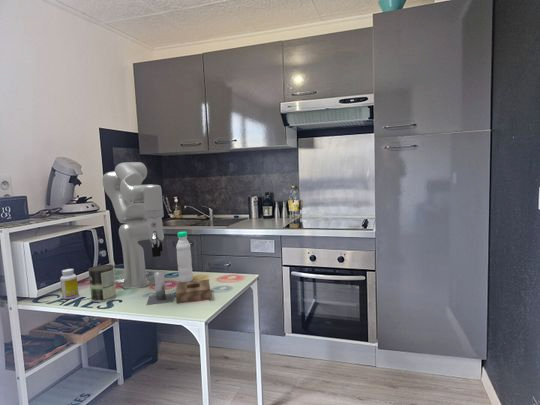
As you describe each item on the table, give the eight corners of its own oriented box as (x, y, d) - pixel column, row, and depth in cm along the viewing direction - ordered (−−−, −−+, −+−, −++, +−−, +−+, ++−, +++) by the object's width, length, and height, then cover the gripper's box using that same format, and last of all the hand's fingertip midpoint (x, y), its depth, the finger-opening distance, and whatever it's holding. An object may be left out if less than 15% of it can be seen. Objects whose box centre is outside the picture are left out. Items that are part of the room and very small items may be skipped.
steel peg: (155, 301, 150) (153, 273, 148) (156, 298, 153) (154, 271, 152) (165, 300, 150) (163, 272, 149) (166, 296, 154) (163, 270, 153)
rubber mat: (146, 306, 145) (146, 305, 145) (149, 297, 156) (149, 296, 156) (173, 303, 148) (173, 301, 148) (174, 294, 158) (174, 293, 158)
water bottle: (186, 277, 183) (183, 230, 181) (196, 279, 179) (192, 231, 177) (175, 281, 178) (171, 232, 175) (185, 283, 173) (181, 233, 171)
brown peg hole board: (177, 304, 146) (176, 293, 145) (178, 293, 159) (177, 282, 159) (211, 300, 148) (210, 288, 148) (209, 289, 162) (208, 279, 162)
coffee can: (90, 303, 152) (87, 272, 151) (92, 296, 162) (89, 266, 161) (116, 299, 156) (113, 268, 155) (116, 292, 166) (113, 263, 165)
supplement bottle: (82, 295, 165) (79, 268, 164) (70, 300, 158) (67, 272, 157) (71, 294, 167) (68, 267, 166) (59, 299, 161) (55, 271, 160)
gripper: (161, 215, 141) (165, 257, 143) (164, 211, 158) (168, 248, 159) (142, 217, 139) (146, 259, 141) (147, 212, 156) (150, 250, 158)
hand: (157, 253), depth 150 cm, fingers open, 9 cm apart
